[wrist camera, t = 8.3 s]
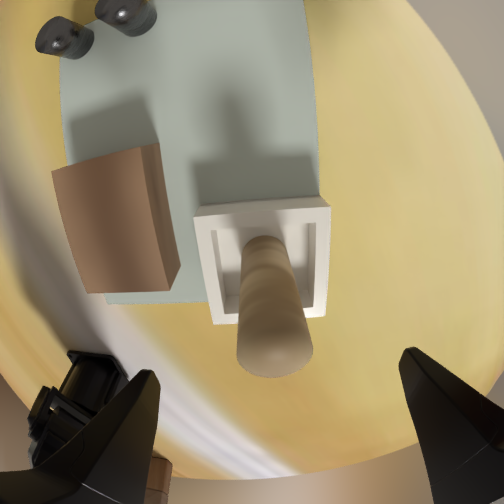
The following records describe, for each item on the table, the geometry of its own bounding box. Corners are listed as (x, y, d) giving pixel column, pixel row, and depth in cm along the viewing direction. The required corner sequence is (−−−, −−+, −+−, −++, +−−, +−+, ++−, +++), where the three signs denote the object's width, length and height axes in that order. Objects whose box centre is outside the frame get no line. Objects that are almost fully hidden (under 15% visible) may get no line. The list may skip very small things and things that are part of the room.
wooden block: (173, 465, 37) (163, 542, 21) (123, 455, 37) (108, 526, 21) (167, 458, 36) (155, 540, 20) (116, 448, 36) (98, 522, 20)
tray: (217, 301, 19) (213, 324, 17) (201, 203, 16) (193, 217, 13) (317, 293, 19) (325, 315, 16) (319, 194, 16) (331, 206, 13)
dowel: (243, 278, 17) (240, 379, 10) (239, 237, 16) (232, 329, 9) (287, 274, 17) (310, 373, 10) (286, 233, 16) (315, 323, 9)
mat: (111, 298, 20) (107, 304, 19) (67, 39, 11) (61, 37, 10) (314, 287, 19) (317, 293, 19) (298, -11, 10) (299, -17, 9)
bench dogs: (66, 64, 11) (34, 59, 8) (67, 37, 10) (37, 27, 7) (157, 30, 11) (135, 11, 8) (157, 1, 10) (137, -21, 7)
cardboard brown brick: (105, 270, 18) (87, 293, 15) (78, 162, 14) (51, 171, 12) (181, 265, 18) (169, 290, 15) (159, 142, 14) (140, 146, 11)
